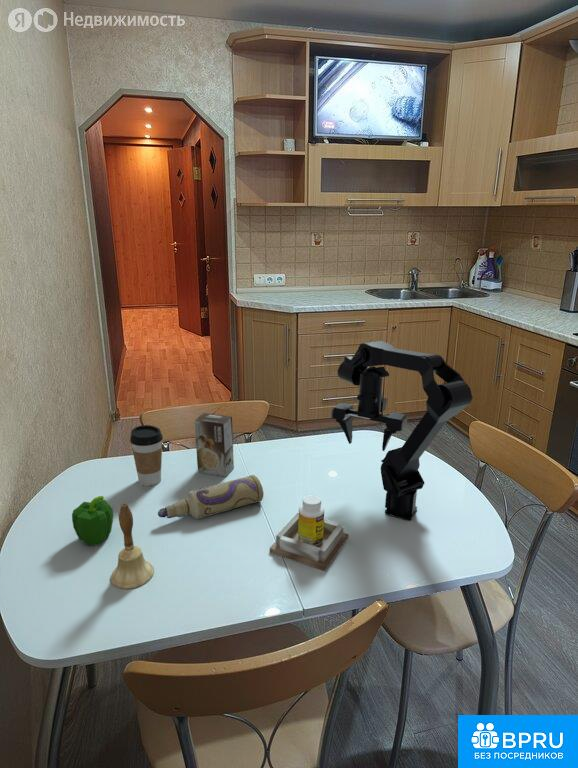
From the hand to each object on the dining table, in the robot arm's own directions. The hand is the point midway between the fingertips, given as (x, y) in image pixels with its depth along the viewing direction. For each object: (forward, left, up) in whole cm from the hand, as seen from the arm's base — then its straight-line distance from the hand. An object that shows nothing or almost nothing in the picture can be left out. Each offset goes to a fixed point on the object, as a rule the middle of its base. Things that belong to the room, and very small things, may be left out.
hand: (366, 446), depth 130 cm
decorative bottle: (+29, +28, -12) cm, 43 cm away
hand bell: (+29, +56, -12) cm, 64 cm away
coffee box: (+41, +11, -12) cm, 44 cm away
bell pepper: (+45, +51, -12) cm, 69 cm away
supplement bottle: (+2, +30, -11) cm, 32 cm away
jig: (+2, +30, -12) cm, 32 cm away
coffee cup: (+53, +25, -12) cm, 60 cm away
